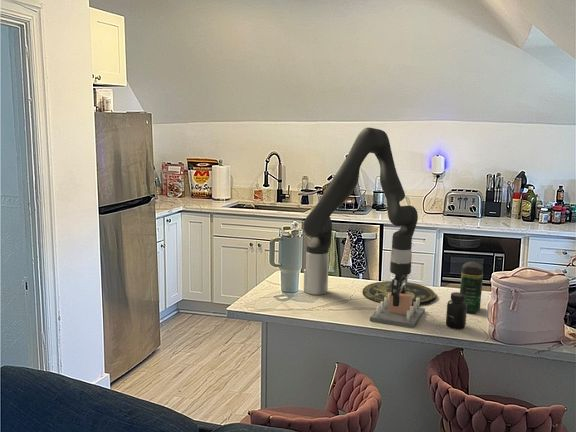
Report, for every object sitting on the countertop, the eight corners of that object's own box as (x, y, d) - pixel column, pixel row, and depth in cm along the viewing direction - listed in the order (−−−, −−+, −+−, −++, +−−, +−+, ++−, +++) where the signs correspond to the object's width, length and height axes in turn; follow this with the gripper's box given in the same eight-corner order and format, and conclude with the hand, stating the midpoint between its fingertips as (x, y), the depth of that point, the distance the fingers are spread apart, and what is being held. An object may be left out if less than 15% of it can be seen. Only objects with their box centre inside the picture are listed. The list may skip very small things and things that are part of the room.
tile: (388, 312, 222) (389, 293, 221) (390, 310, 224) (391, 292, 223) (410, 315, 219) (411, 297, 218) (411, 313, 221) (412, 295, 220)
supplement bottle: (444, 328, 211) (446, 295, 209) (446, 322, 217) (448, 290, 215) (464, 331, 208) (467, 298, 206) (466, 324, 215) (468, 292, 213)
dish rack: (369, 320, 217) (370, 306, 216) (383, 305, 234) (384, 292, 233) (413, 328, 210) (414, 313, 209) (424, 311, 227) (425, 298, 226)
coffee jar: (479, 315, 225) (482, 267, 222) (457, 312, 228) (460, 264, 225) (481, 307, 234) (484, 261, 231) (460, 304, 237) (463, 259, 233)
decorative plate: (376, 277, 267) (444, 287, 254) (376, 281, 268) (443, 291, 254) (351, 295, 241) (425, 307, 228) (351, 300, 242) (425, 312, 228)
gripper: (395, 254, 226) (393, 295, 229) (385, 263, 213) (383, 306, 216) (415, 257, 223) (413, 298, 226) (406, 265, 210) (404, 309, 213)
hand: (398, 302), depth 221 cm, fingers open, 8 cm apart
